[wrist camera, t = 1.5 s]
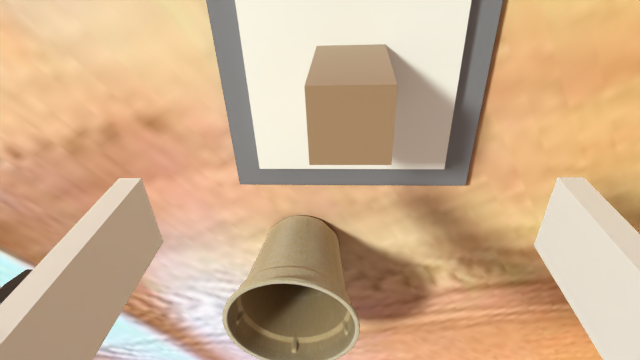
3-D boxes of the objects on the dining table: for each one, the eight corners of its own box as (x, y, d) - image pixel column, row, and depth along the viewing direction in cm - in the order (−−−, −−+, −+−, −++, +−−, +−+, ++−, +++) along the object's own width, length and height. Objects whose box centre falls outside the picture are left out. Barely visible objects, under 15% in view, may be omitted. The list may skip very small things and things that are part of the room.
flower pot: (371, 267, 34) (377, 357, 27) (277, 288, 37) (259, 375, 29) (336, 185, 30) (331, 267, 23) (231, 215, 32) (196, 297, 25)
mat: (518, -98, 19) (522, -99, 19) (463, 181, 29) (465, 185, 28) (194, -82, 21) (191, -82, 20) (241, 180, 30) (240, 184, 30)
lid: (474, -51, 20) (534, -42, 13) (441, 162, 27) (470, 236, 21) (233, -40, 21) (179, -28, 15) (262, 161, 28) (234, 233, 22)
